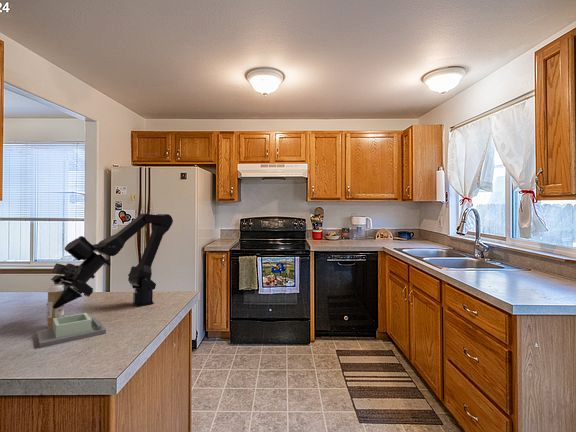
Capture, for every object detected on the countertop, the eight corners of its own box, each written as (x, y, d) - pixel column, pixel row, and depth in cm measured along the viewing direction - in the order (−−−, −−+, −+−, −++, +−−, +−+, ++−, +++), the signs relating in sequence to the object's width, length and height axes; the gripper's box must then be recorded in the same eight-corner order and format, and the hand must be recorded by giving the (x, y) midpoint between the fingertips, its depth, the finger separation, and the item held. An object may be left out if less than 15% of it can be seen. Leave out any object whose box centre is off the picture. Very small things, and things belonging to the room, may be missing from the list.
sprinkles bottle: (63, 326, 99) (64, 285, 99) (45, 329, 97) (46, 287, 97) (64, 322, 103) (65, 283, 103) (47, 324, 101) (48, 284, 101)
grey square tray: (97, 323, 103) (98, 309, 103) (106, 333, 94) (106, 318, 94) (37, 334, 92) (37, 319, 92) (39, 347, 83) (40, 330, 83)
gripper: (58, 252, 108) (18, 288, 99) (83, 256, 98) (41, 297, 89) (82, 270, 115) (46, 306, 106) (108, 276, 105) (71, 317, 96)
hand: (50, 306), depth 99 cm, fingers closed on sprinkles bottle, 4 cm apart
